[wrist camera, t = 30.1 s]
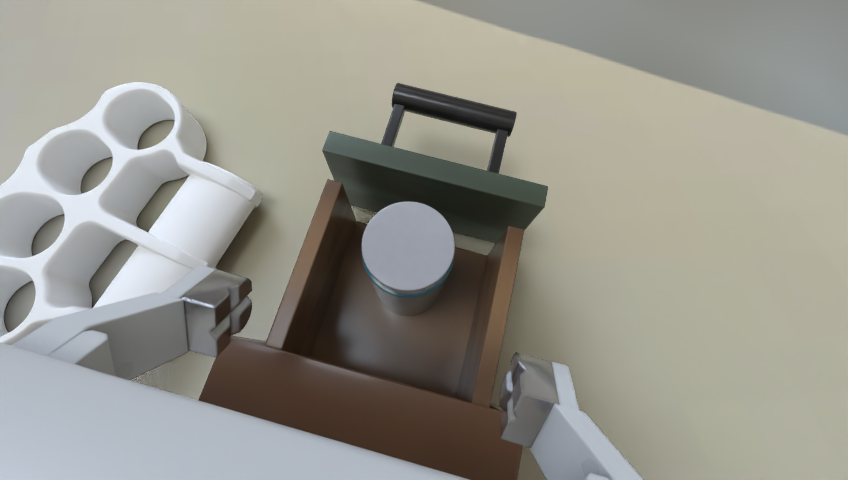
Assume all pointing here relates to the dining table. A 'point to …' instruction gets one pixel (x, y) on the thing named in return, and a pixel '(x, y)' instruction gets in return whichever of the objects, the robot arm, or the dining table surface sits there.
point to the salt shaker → (408, 256)
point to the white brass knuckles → (115, 207)
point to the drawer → (468, 279)
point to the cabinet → (362, 410)
